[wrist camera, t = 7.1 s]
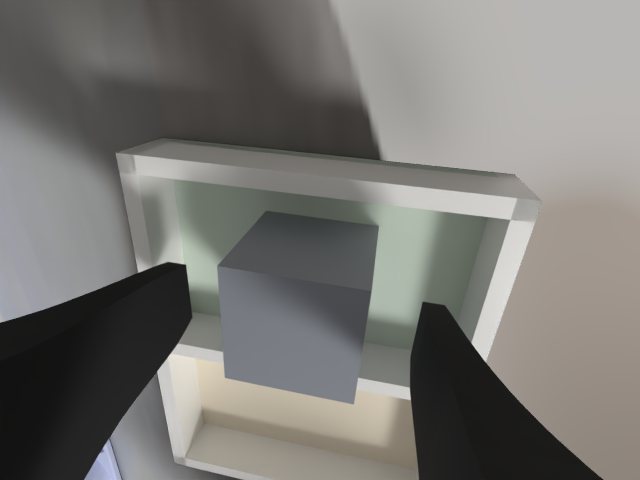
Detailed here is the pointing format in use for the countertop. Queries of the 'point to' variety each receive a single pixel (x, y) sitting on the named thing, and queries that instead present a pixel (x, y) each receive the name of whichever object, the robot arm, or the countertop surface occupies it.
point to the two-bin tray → (384, 310)
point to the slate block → (298, 304)
